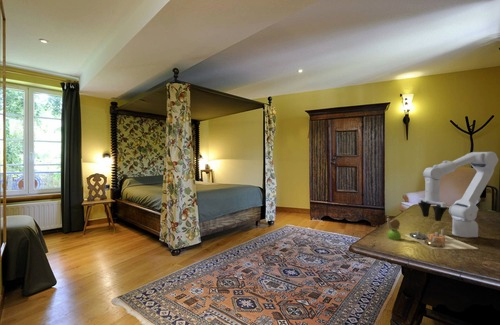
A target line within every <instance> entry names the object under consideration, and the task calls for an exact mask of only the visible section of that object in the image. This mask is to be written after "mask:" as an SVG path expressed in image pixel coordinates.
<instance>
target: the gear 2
mask: <svg viewBox="0 0 500 325" xmlns="http://www.w3.org/2000/svg"><path fill="white" fill-rule="evenodd" d="M424 243H426V245H430V246H432V247H437V248H439V247H442V248H444V247H445V243H443V242H440V241H438V240H436V243H434V241H432V239H430V240H427V239H426V240H424ZM426 245H425V246H426Z"/></svg>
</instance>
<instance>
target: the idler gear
mask: <svg viewBox="0 0 500 325" xmlns="http://www.w3.org/2000/svg"><path fill="white" fill-rule="evenodd" d="M428 235H429V240H430V239H432V238H433V237H434V238H437V239H436V240H438V241H440V242H443V243H445V237H444V236H443V235H441V234H439V237H437V236H435V233H429V234H428Z"/></svg>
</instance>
